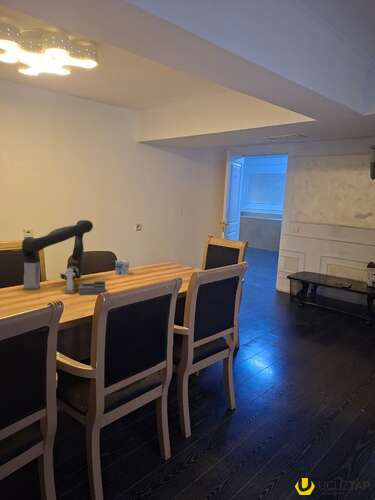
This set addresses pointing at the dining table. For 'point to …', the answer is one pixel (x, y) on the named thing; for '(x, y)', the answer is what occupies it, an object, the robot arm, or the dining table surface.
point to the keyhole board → (92, 288)
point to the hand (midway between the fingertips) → (69, 278)
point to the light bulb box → (122, 267)
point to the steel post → (69, 282)
